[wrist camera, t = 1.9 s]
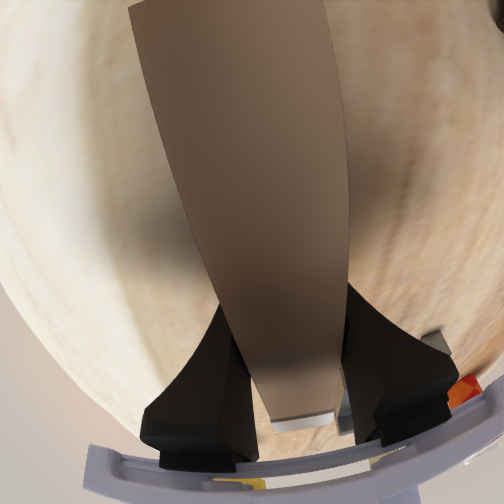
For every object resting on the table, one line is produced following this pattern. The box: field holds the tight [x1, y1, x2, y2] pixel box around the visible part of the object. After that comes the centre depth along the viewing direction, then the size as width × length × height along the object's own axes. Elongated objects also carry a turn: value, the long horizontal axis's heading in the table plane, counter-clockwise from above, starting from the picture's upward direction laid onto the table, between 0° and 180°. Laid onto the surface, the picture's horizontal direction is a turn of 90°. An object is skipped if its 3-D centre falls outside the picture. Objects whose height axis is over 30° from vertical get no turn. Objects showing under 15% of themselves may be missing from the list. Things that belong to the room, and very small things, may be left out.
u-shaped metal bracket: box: [333, 331, 452, 436], centre depth 19 cm, size 10×9×4 cm
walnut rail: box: [128, 0, 349, 433], centre depth 11 cm, size 4×20×5 cm, turn 11°
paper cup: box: [447, 374, 504, 465], centre depth 23 cm, size 8×8×14 cm
